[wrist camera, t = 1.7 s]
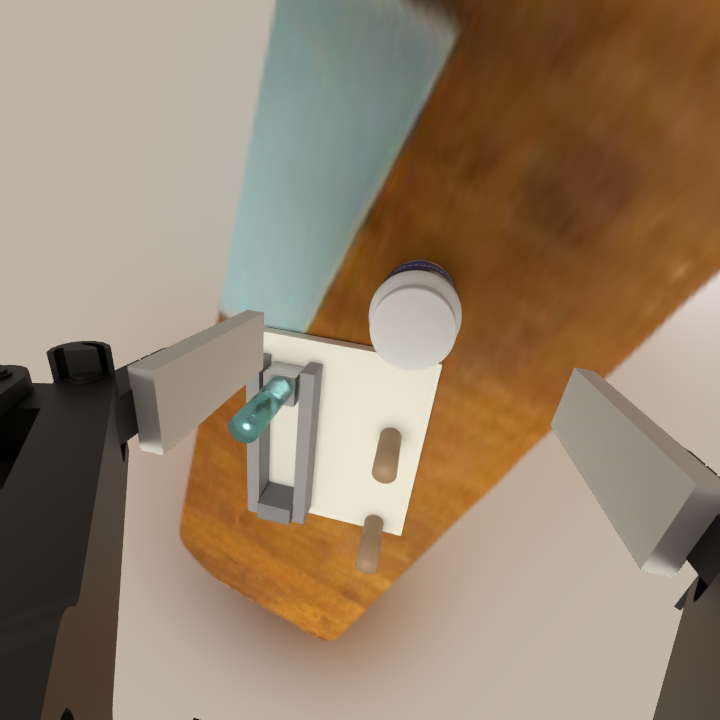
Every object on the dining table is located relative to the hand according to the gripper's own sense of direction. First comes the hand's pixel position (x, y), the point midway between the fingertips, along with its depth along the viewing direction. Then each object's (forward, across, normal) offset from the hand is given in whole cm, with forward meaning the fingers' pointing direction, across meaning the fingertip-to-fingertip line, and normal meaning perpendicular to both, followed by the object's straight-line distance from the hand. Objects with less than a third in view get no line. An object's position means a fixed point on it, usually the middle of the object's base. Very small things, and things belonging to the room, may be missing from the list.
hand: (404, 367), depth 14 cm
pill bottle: (+14, 0, 0) cm, 14 cm away
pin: (+13, -10, -8) cm, 18 cm away
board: (+14, -5, -14) cm, 21 cm away
